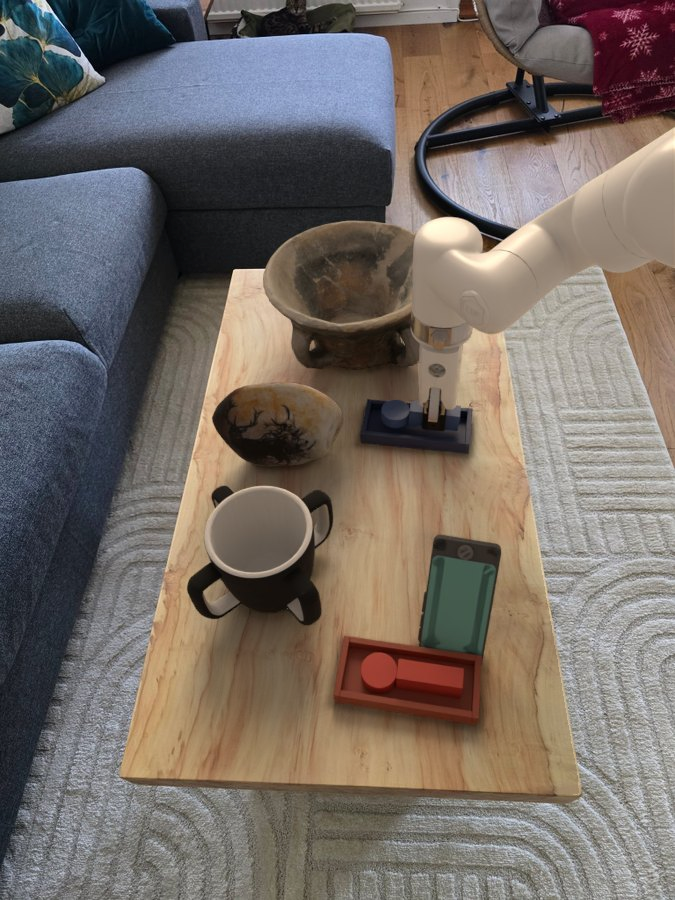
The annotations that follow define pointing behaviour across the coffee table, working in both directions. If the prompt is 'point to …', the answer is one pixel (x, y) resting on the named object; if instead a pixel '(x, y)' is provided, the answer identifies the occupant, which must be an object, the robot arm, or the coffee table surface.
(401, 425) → the blue spoon
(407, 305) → the bowl
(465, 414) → the blue tray
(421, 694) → the red tray
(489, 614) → the smartphone
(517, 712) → the coffee table surface
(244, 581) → the mug
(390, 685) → the red spoon
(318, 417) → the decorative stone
